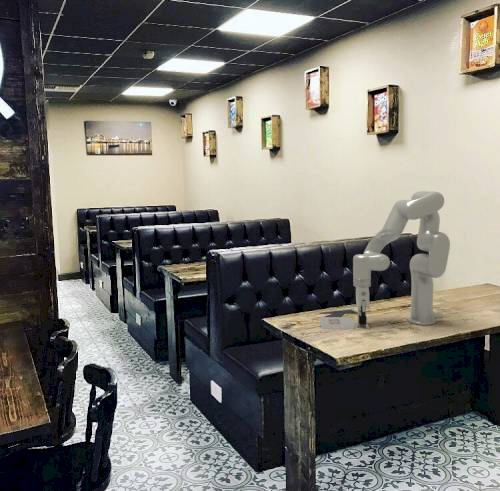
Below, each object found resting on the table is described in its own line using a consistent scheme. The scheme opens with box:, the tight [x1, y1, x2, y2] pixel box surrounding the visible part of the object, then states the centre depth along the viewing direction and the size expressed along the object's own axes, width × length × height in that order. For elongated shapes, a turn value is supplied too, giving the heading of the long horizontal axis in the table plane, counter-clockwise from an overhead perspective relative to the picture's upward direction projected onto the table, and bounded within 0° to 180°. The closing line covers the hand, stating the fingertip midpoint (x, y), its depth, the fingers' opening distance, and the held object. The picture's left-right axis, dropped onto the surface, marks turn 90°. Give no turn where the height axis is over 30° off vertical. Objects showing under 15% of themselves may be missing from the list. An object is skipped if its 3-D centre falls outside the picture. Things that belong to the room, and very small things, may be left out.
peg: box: [357, 307, 362, 325], centre depth 225 cm, size 4×4×7 cm
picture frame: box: [314, 308, 358, 317], centre depth 246 cm, size 16×3×21 cm
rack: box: [319, 316, 370, 330], centre depth 226 cm, size 21×12×4 cm, turn 85°
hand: (362, 322), depth 225 cm, fingers closed on peg, 3 cm apart
